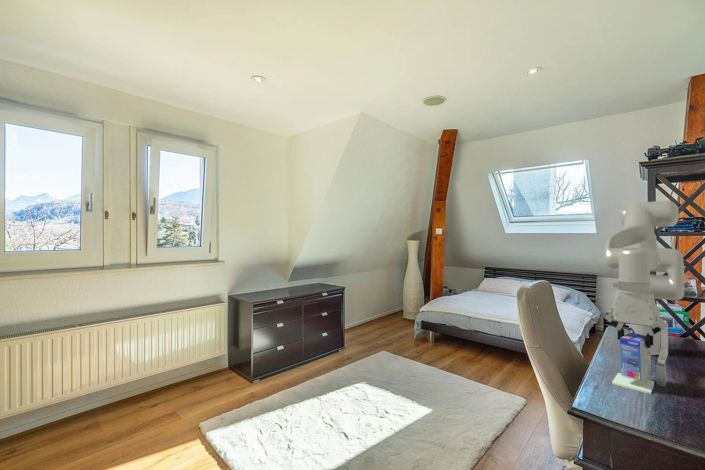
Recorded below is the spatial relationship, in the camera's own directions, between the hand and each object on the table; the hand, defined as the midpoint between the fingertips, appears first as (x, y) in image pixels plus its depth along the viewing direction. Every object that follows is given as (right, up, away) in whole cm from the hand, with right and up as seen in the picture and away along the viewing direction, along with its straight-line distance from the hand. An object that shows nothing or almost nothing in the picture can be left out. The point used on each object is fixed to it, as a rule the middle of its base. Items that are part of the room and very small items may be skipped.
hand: (635, 344), depth 102 cm
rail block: (+8, -13, 0) cm, 15 cm away
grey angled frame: (+10, -6, +8) cm, 15 cm away
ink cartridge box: (0, -10, 0) cm, 10 cm away
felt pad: (-1, -12, 0) cm, 12 cm away
